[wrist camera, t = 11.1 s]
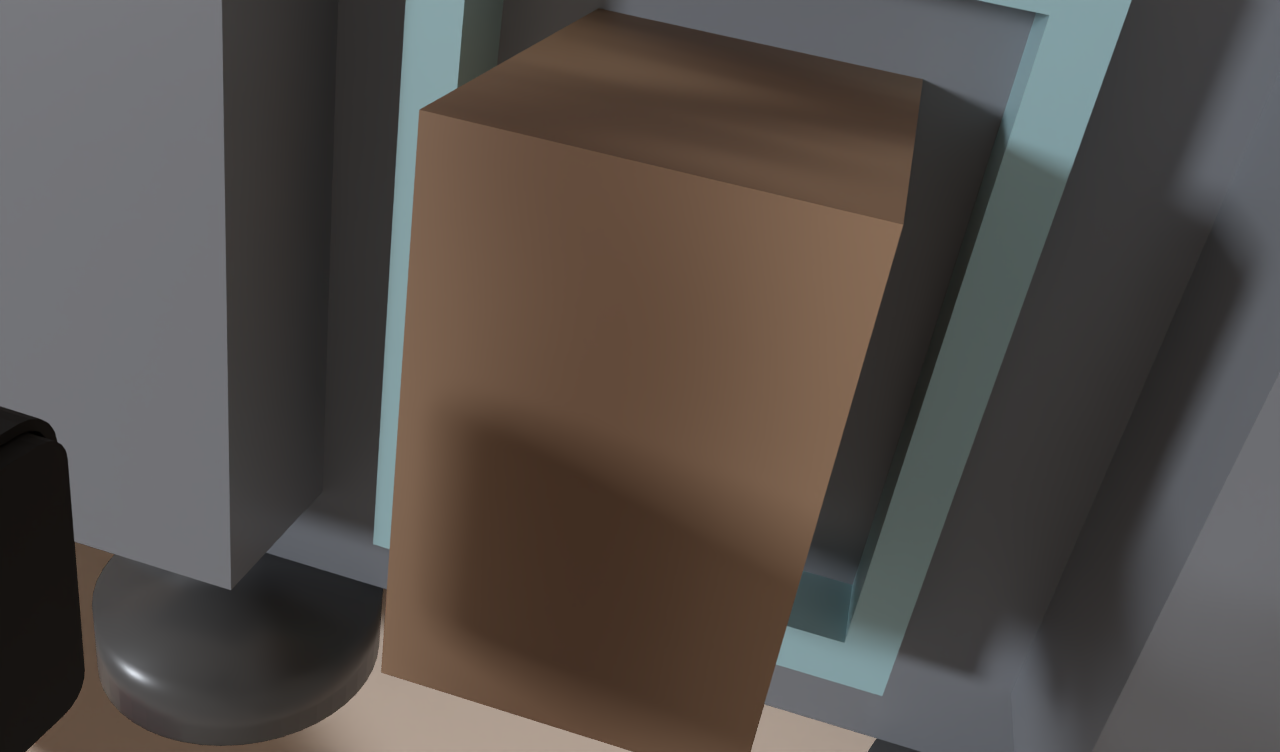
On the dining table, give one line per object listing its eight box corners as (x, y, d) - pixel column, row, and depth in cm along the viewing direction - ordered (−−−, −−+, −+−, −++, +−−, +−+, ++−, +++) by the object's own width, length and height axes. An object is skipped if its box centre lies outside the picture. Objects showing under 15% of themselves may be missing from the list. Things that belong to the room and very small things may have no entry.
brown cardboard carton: (923, 79, 15) (903, 224, 10) (802, 507, 18) (740, 785, 13) (598, 8, 16) (419, 109, 10) (539, 435, 19) (382, 672, 14)
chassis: (1861, -300, 12) (2426, -365, 8) (1195, 835, 21) (1265, 1136, 16) (67, -578, 15) (-330, -747, 11) (137, 514, 24) (-65, 687, 20)
